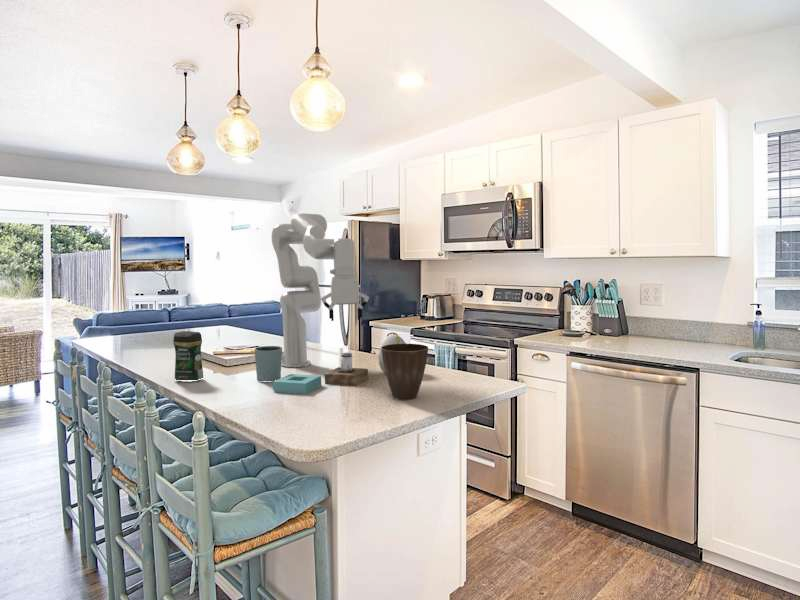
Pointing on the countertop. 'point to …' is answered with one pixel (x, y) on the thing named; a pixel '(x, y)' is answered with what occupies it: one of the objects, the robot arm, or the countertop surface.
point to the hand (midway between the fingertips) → (345, 320)
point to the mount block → (346, 376)
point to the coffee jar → (188, 355)
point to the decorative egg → (388, 341)
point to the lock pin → (346, 362)
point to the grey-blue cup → (268, 363)
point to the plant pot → (404, 368)
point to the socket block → (297, 383)
